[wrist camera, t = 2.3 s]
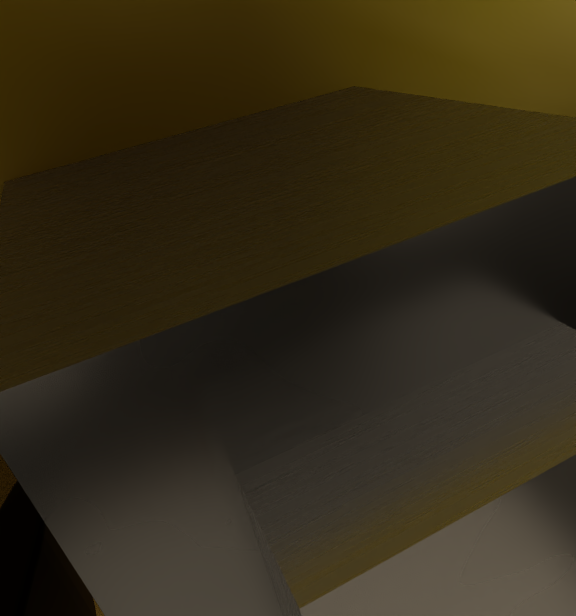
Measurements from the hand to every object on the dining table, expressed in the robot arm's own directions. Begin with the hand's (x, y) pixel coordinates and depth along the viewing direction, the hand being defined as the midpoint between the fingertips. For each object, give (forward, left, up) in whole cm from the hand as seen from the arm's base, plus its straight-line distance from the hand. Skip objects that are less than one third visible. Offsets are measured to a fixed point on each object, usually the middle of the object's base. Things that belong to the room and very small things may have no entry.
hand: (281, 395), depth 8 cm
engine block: (0, 0, -1) cm, 1 cm away
